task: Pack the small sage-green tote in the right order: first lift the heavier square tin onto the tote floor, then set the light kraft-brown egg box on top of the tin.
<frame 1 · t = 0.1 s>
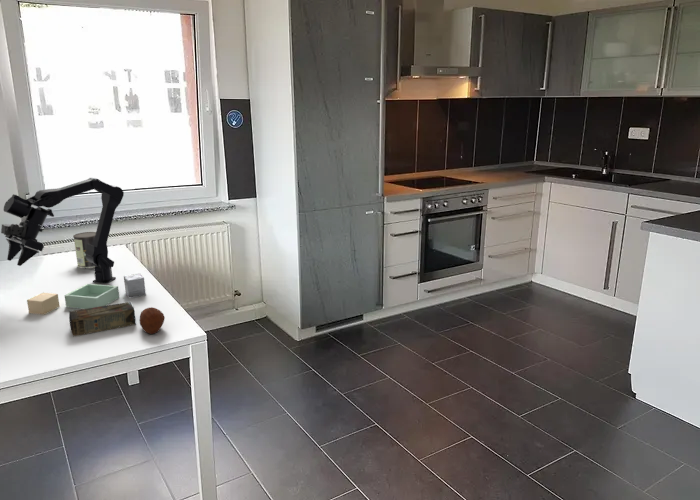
hand: (13, 262, 190), 15 cm above the table, tool tilted 35°, fingers open, 9 cm apart
coffee can: (90, 265, 237), on the table
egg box: (44, 310, 187), on the table
tote: (93, 302, 195), on the table
tin: (135, 294, 203), on the table
beverage carton: (104, 327, 175), on the table
potato: (153, 330, 172), on the table
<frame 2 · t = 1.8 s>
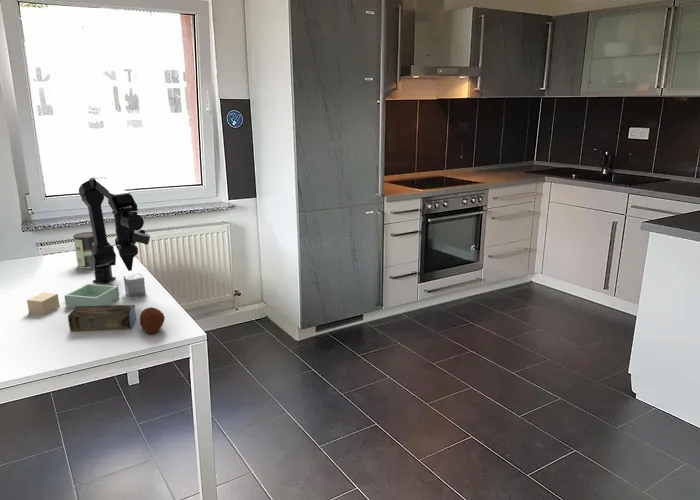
hand: (128, 267, 199), 11 cm above the table, tool pointing down, fingers open, 9 cm apart
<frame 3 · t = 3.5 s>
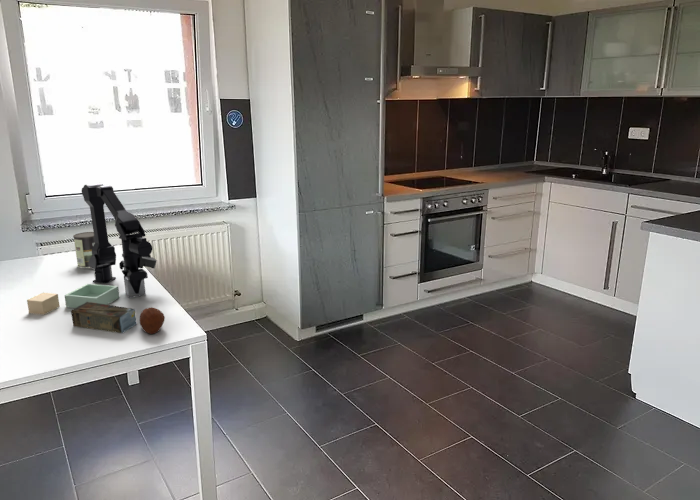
hand: (135, 291, 203), 1 cm above the table, tool pointing down, fingers closed on tin, 6 cm apart
tin: (135, 294, 203), on the table, touching gripper
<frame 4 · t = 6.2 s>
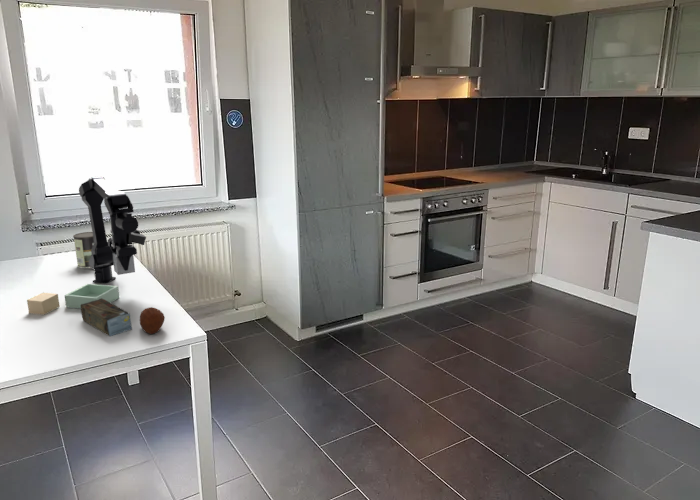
hand: (124, 268, 198), 11 cm above the table, tool pointing down, fingers closed on tin, 6 cm apart
tin: (124, 271, 199), point 10 cm above the table, touching gripper
when the fingers open (3 cm above the table, at t = 8.9 s): tin drops 1 cm, resting on tote.
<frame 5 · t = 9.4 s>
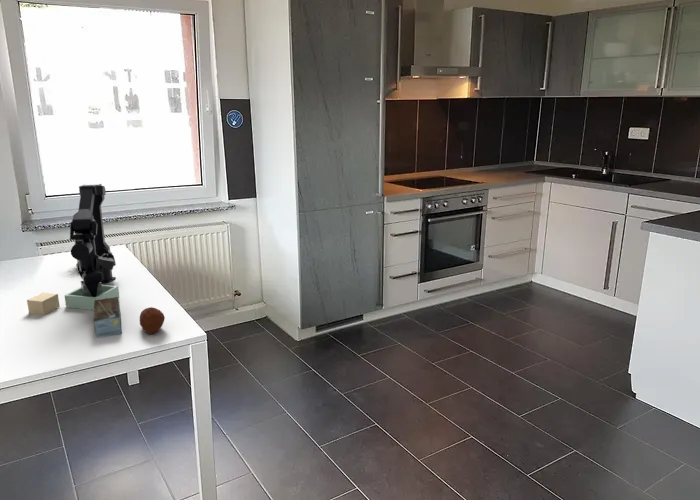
hand: (92, 293, 194), 3 cm above the table, tool pointing down, fingers open, 9 cm apart
tin: (93, 300, 194), point 1 cm above the table, touching tote
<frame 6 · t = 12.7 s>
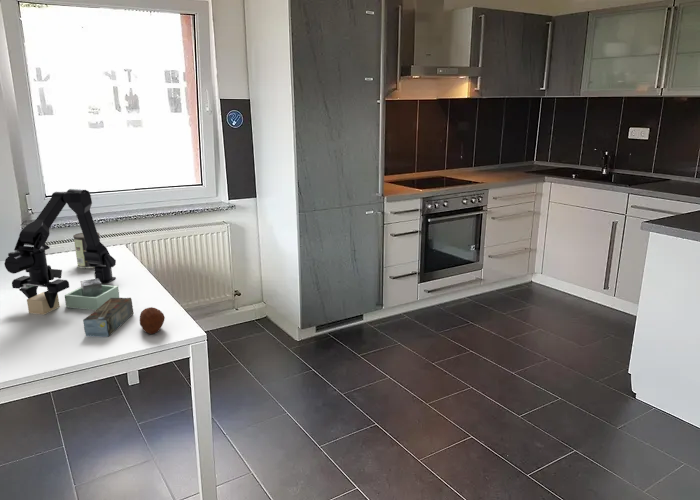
hand: (44, 307, 187), 1 cm above the table, tool pointing down, fingers closed on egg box, 6 cm apart
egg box: (44, 309, 187), on the table, touching gripper
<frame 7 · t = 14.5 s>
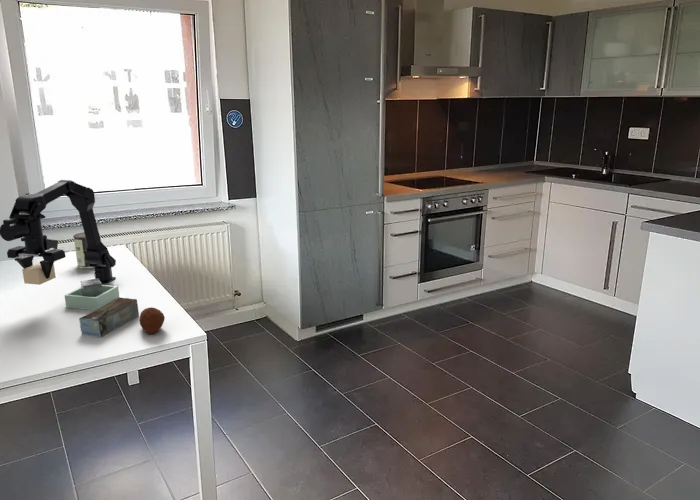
hand: (39, 277, 184), 12 cm above the table, tool pointing down, fingers closed on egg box, 6 cm apart
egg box: (40, 280, 184), point 11 cm above the table, touching gripper
when the fingers open (10 cm above the table, at t = 16.5 s): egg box drops 1 cm, resting on tin.
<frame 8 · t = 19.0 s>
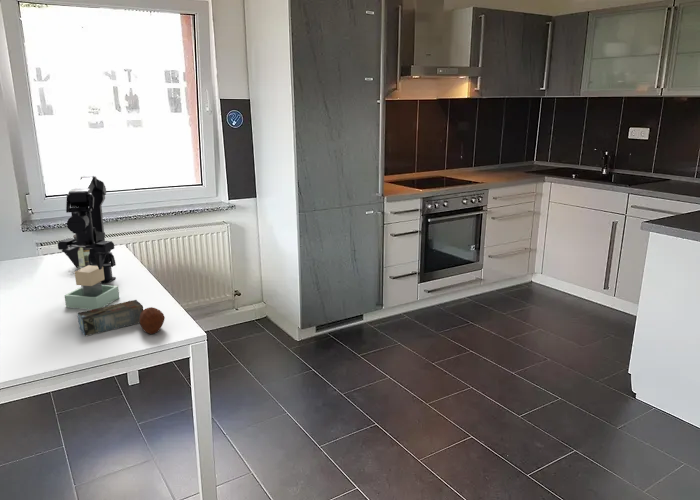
hand: (89, 268, 191), 13 cm above the table, tool pointing down, fingers open, 9 cm apart
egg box: (90, 282, 192), point 8 cm above the table, touching tin
tin: (93, 300, 194), point 1 cm above the table, touching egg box, tote
at the end: tin 0.1 cm off-centre on the tote, point 0.8 cm above the tote's base; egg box inside the target area on the tote (0.0 cm from its centre), point 7.8 cm above the tote's base; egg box touching tin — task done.
